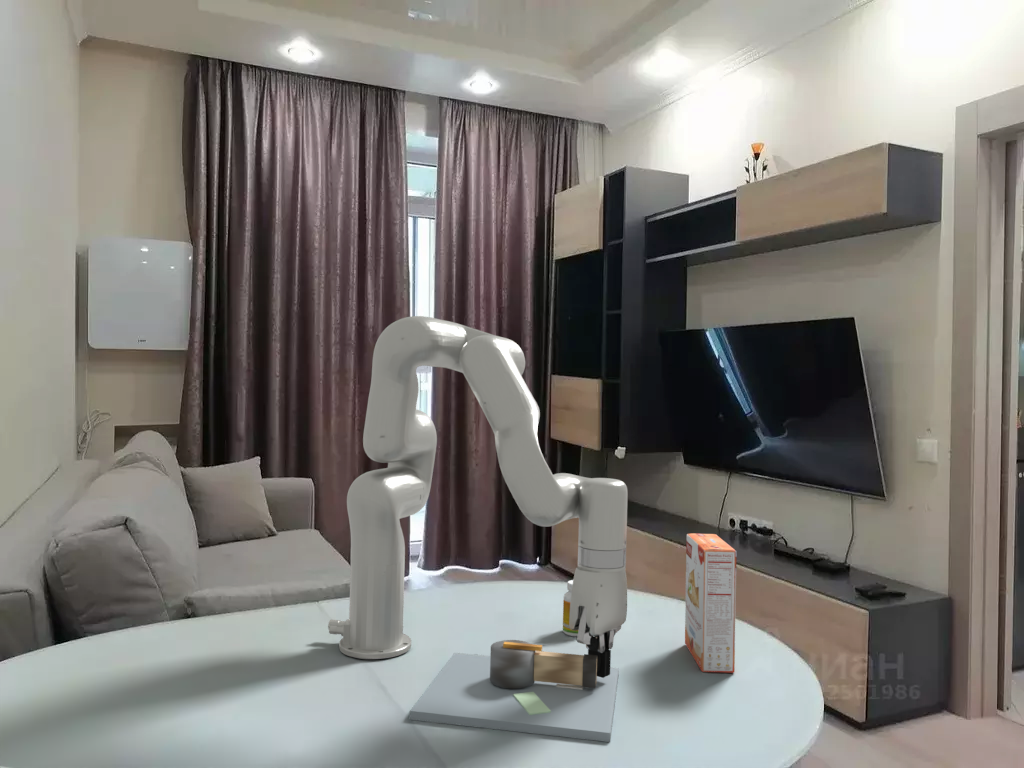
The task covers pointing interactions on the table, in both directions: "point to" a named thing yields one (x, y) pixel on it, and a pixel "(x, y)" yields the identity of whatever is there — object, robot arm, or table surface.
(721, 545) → the cracker box
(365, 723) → the table surface
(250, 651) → the table surface
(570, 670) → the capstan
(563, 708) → the board
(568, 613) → the supplement bottle
